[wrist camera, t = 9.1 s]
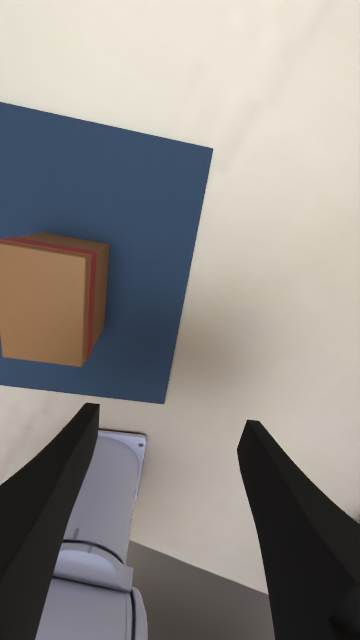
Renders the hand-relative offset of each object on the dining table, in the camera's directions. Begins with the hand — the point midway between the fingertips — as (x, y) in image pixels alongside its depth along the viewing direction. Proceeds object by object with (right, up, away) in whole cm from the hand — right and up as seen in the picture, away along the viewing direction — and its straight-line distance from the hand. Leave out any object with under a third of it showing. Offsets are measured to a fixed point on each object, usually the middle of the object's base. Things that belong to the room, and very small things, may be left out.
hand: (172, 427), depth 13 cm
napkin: (-7, +8, +7) cm, 13 cm away
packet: (-7, +8, +6) cm, 12 cm away
